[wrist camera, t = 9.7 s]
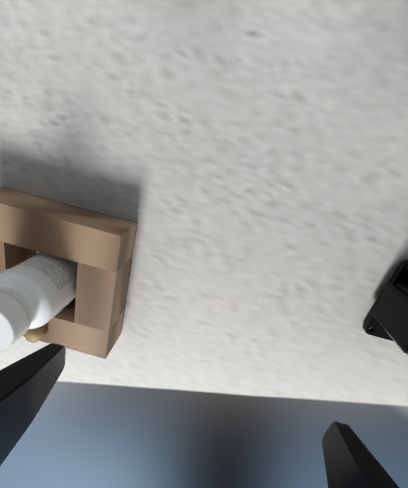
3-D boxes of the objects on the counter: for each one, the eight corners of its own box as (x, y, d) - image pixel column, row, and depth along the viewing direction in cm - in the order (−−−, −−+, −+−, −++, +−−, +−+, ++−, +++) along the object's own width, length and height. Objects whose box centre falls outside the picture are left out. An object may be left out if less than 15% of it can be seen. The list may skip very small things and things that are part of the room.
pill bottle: (42, 238, 21) (-61, 285, 13) (93, 249, 20) (17, 303, 13) (45, 283, 22) (-45, 348, 15) (93, 294, 22) (24, 364, 15)
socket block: (137, 223, 19) (114, 241, 16) (120, 333, 23) (99, 368, 20) (0, 186, 19) (-56, 195, 16) (7, 302, 23) (-36, 331, 20)
